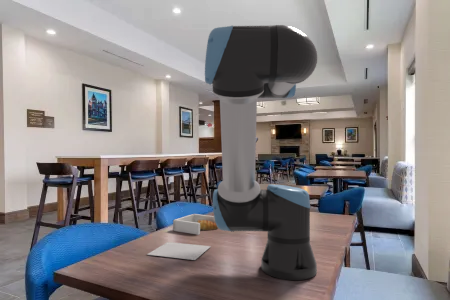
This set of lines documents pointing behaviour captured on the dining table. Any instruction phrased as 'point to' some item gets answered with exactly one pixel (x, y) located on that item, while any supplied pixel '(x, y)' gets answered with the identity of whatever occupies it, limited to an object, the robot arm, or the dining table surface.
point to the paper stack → (180, 250)
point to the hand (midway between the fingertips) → (241, 181)
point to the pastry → (207, 225)
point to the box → (190, 223)
